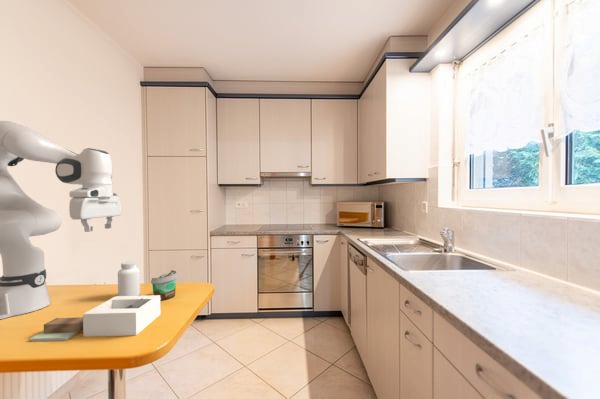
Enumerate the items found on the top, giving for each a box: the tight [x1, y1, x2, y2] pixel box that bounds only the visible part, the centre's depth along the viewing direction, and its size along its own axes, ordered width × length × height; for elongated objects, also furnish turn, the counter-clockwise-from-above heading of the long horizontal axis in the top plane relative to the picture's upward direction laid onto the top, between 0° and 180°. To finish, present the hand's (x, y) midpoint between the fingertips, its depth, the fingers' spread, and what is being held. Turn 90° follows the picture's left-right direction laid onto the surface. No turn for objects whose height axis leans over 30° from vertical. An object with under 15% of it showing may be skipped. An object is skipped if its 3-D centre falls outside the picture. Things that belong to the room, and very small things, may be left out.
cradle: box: [124, 298, 145, 309], centre depth 85 cm, size 12×5×2 cm, turn 91°
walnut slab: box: [43, 316, 83, 333], centre depth 81 cm, size 11×4×3 cm, turn 92°
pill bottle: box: [117, 260, 141, 296], centre depth 110 cm, size 8×8×15 cm
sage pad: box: [28, 330, 80, 342], centre depth 81 cm, size 11×10×1 cm
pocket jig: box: [82, 294, 162, 337], centre depth 85 cm, size 16×14×7 cm
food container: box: [150, 270, 179, 302], centre depth 108 cm, size 12×6×10 cm, turn 168°
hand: (99, 229), depth 94 cm, fingers open, 8 cm apart
